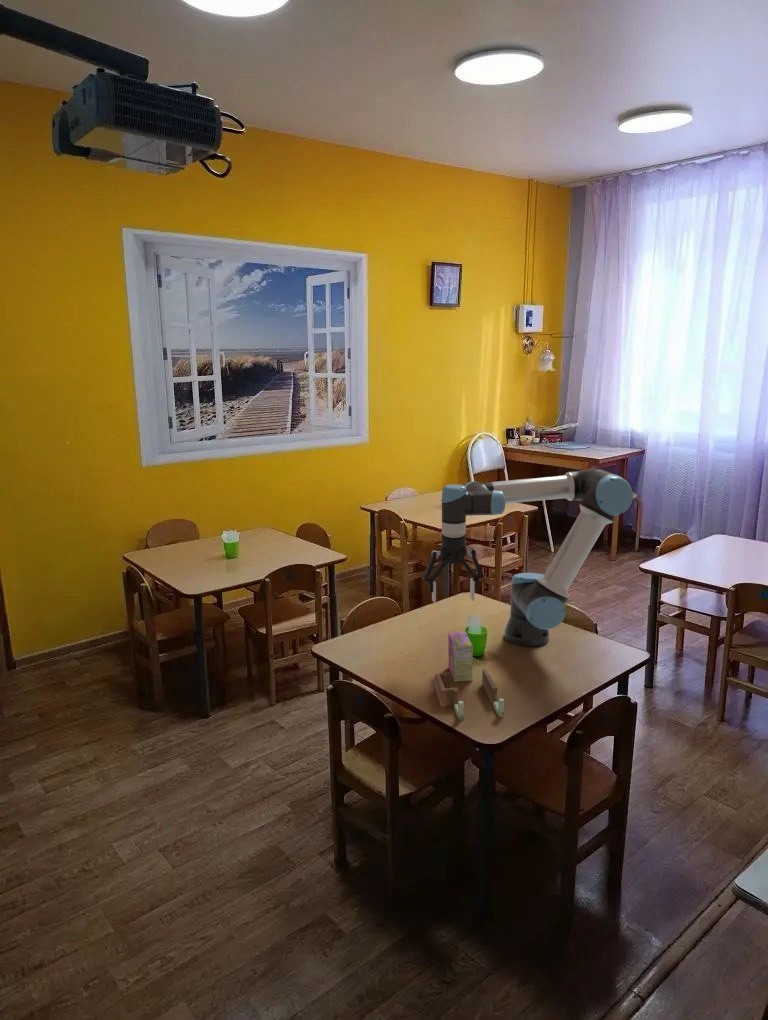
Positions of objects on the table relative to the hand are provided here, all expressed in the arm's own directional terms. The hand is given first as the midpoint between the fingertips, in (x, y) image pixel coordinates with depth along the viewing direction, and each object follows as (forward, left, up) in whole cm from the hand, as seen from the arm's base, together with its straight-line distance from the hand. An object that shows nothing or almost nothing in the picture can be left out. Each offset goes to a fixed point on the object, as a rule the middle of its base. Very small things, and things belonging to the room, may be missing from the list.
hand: (453, 600), depth 219 cm
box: (0, +11, -20) cm, 23 cm away
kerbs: (0, +35, -20) cm, 40 cm away
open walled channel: (+2, +25, -20) cm, 32 cm away
